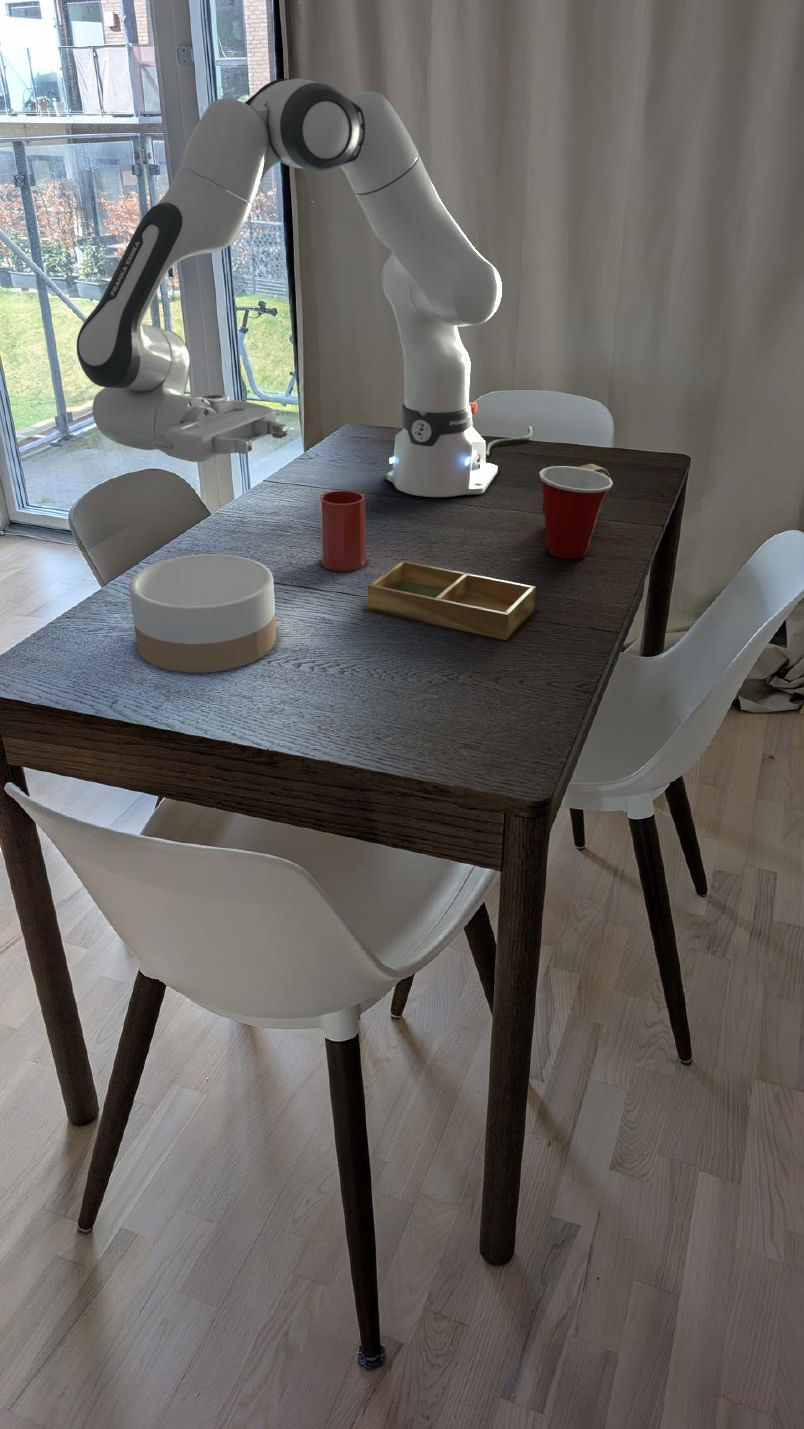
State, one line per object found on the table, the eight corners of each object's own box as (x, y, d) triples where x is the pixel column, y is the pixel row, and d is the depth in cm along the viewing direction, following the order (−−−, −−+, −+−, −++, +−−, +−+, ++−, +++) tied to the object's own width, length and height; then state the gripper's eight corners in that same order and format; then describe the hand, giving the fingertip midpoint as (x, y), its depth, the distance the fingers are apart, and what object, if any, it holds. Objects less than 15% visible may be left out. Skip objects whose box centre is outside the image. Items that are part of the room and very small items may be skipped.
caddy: (402, 583, 146) (402, 560, 144) (534, 610, 138) (536, 586, 137) (367, 610, 138) (367, 585, 136) (505, 640, 130) (507, 614, 129)
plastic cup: (603, 568, 152) (612, 488, 146) (529, 562, 153) (536, 483, 147) (606, 543, 161) (614, 467, 155) (536, 537, 163) (542, 462, 157)
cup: (335, 552, 156) (334, 488, 151) (372, 560, 154) (372, 494, 149) (313, 566, 151) (311, 500, 146) (351, 574, 149) (351, 507, 144)
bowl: (155, 611, 137) (148, 551, 133) (284, 614, 136) (281, 554, 132) (120, 671, 122) (111, 606, 118) (265, 675, 121) (261, 610, 117)
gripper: (141, 420, 144) (223, 433, 139) (226, 392, 160) (303, 402, 155) (146, 465, 147) (227, 479, 142) (229, 433, 163) (304, 444, 158)
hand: (267, 439), depth 149 cm, fingers open, 8 cm apart
